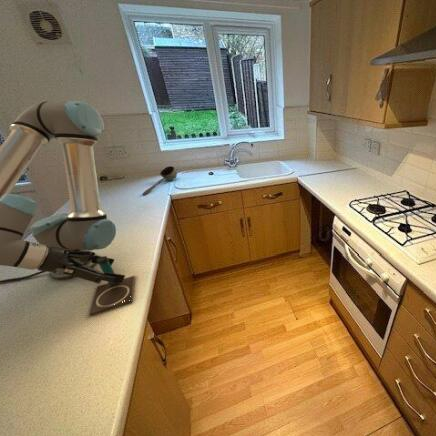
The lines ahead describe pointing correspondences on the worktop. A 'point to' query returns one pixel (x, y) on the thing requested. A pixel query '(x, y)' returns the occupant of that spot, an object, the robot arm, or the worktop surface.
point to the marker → (106, 268)
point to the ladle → (164, 177)
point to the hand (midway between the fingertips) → (117, 270)
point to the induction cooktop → (112, 296)
